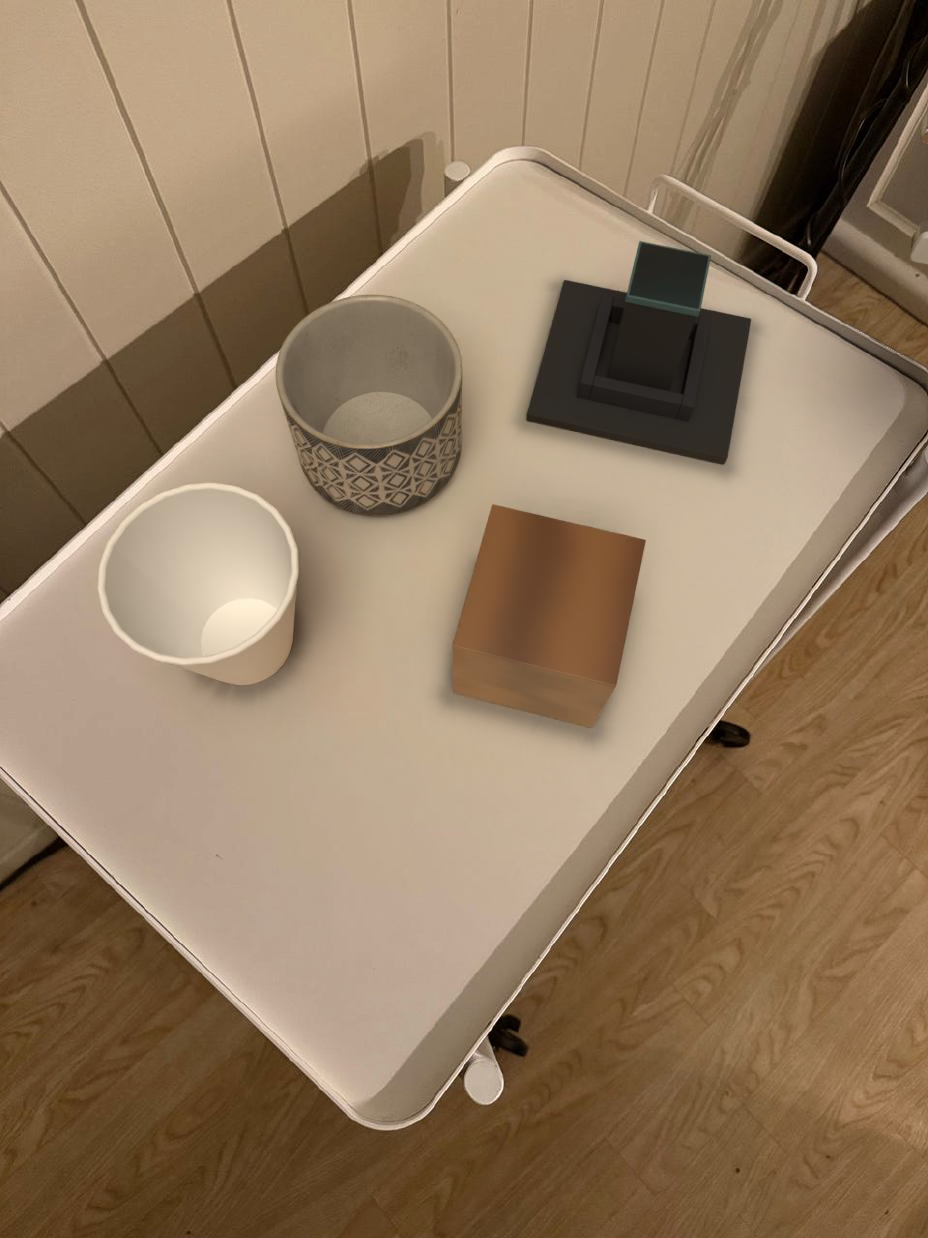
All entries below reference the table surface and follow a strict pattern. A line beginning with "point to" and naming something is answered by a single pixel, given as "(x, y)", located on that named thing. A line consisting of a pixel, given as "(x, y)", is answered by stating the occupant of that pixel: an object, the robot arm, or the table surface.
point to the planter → (373, 402)
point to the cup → (204, 582)
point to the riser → (546, 616)
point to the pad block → (658, 314)
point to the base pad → (631, 412)
